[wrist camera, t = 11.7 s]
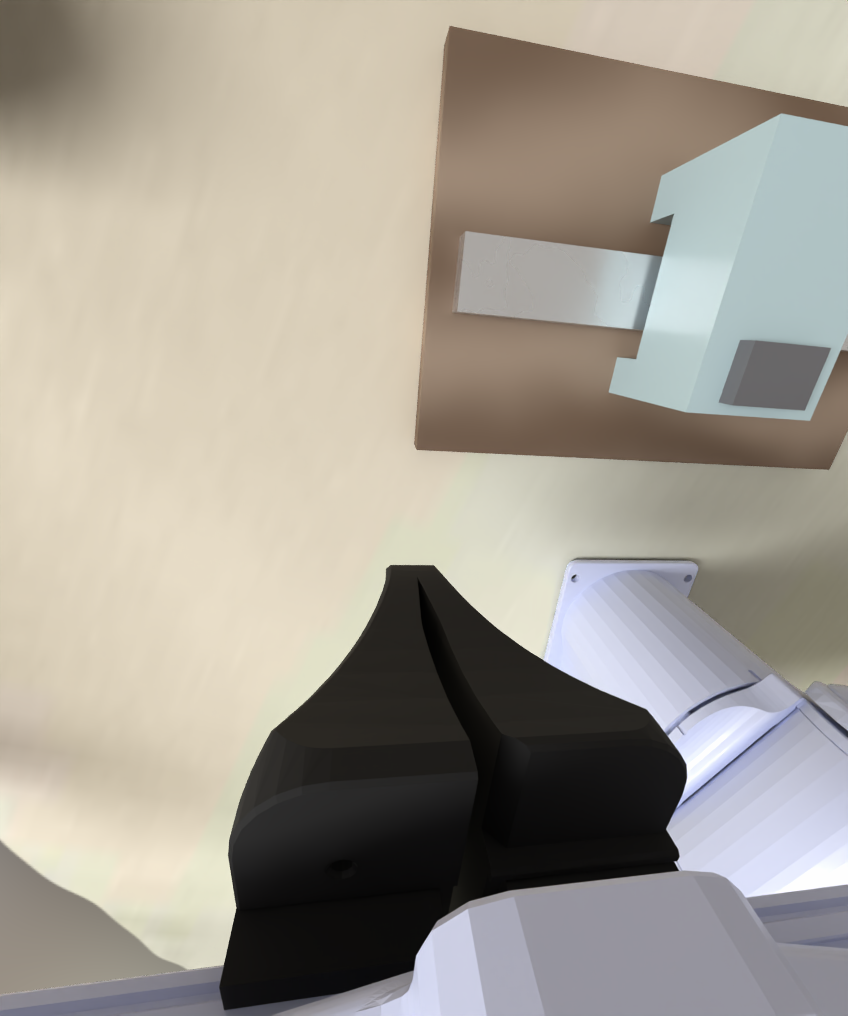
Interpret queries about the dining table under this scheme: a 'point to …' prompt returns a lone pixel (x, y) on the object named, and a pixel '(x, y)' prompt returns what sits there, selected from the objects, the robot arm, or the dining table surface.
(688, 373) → the module
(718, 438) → the rail board
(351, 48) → the dining table surface
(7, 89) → the dining table surface
